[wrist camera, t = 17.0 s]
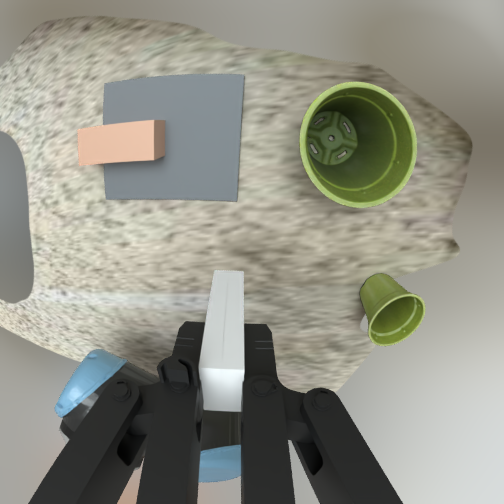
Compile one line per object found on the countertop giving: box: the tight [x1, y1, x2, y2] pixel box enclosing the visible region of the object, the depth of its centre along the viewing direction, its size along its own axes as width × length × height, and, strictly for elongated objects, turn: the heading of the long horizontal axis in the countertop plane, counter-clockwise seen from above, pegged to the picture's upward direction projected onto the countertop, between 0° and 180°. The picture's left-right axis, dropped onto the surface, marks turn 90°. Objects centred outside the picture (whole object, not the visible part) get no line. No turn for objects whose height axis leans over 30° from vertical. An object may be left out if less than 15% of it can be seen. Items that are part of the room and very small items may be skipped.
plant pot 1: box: [299, 82, 417, 208], centre depth 27 cm, size 12×12×11 cm
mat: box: [103, 74, 244, 201], centre depth 31 cm, size 16×18×1 cm
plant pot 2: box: [360, 273, 425, 346], centre depth 38 cm, size 9×9×9 cm
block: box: [78, 120, 165, 166], centre depth 29 cm, size 4×4×10 cm
